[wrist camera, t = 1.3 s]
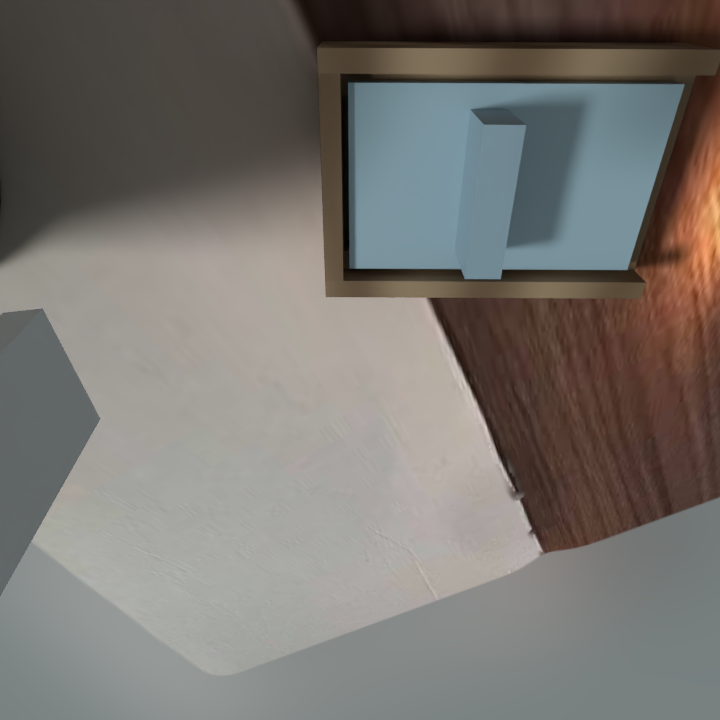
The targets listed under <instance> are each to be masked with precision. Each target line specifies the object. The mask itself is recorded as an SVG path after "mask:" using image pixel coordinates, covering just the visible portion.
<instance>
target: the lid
mask: <svg viewBox="0 0 720 720" xmlns="http://www.w3.org/2000/svg"><path fill="white" fill-rule="evenodd" d="M684 85H685V84H682V83H679V82H654V81H445V80H348V141H349V266H350V268H354V269H461V270H462V273H463V276H464V278H465V279H501V274H502V269H533V270H627V269H628V266H629V263H630V260H631V256H632V253H633V250H634V247H635V243H636V240H637V237H638V234H639V231H640V227H641V224H642V221H643V218H644V214H645V211H646V208H647V205H648V201H649V198H650V195H651V192H652V189H653V185H654V182H655V179H656V176H657V172H658V169H659V166H660V163H661V159H662V156H663V153H664V150H665V147H666V143H667V140H668V137H669V134H670V130H671V127H672V124H673V121H674V118H675V114H676V111H677V108H678V105H679V101H680V98H681V95H682V92H683V88H684Z"/></svg>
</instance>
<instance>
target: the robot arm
mask: <svg viewBox="0 0 720 720" xmlns="http://www.w3.org/2000/svg"><path fill="white" fill-rule="evenodd" d="M99 420H100V417H99V416H98V414H97V412H96V410H95V408H94V406H93V404H92V402H91V400H90V398H89V396H88V395H87V393H86V391H85V389H84V387H83V385H82V383H81V381H80V379H79V377H78V375H77V374H76V372H75V370H74V368H73V366H72V364H71V362H70V360H69V358H68V356H67V354H66V353H65V351H64V349H63V347H62V345H61V343H60V341H59V339H58V337H57V335H56V333H55V332H54V330H53V328H52V326H51V324H50V322H49V320H48V318H47V316H46V314H45V312H44V311H43V309H34V310H25V311H17V312H8V313H3V314H2V315H1V316H0V595H1V594H2V592H3V590H4V588H5V587H6V585H7V583H8V581H9V579H10V578H11V576H12V574H13V572H14V571H15V569H16V567H17V565H18V564H19V562H20V560H21V558H22V556H23V555H24V553H25V551H26V549H27V547H28V546H29V544H30V542H31V540H32V539H33V537H34V535H35V533H36V532H37V530H38V528H39V526H40V525H41V523H42V521H43V519H44V517H45V516H46V514H47V512H48V510H49V509H50V507H51V505H52V503H53V501H54V500H55V498H56V496H57V494H58V493H59V491H60V489H61V487H62V486H63V484H64V482H65V480H66V478H67V477H68V475H69V473H70V471H71V470H72V468H73V466H74V464H75V463H76V461H77V459H78V457H79V455H80V454H81V452H82V450H83V448H84V447H85V445H86V443H87V441H88V439H89V438H90V436H91V434H92V432H93V431H94V429H95V427H96V425H97V424H98V422H99Z"/></svg>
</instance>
